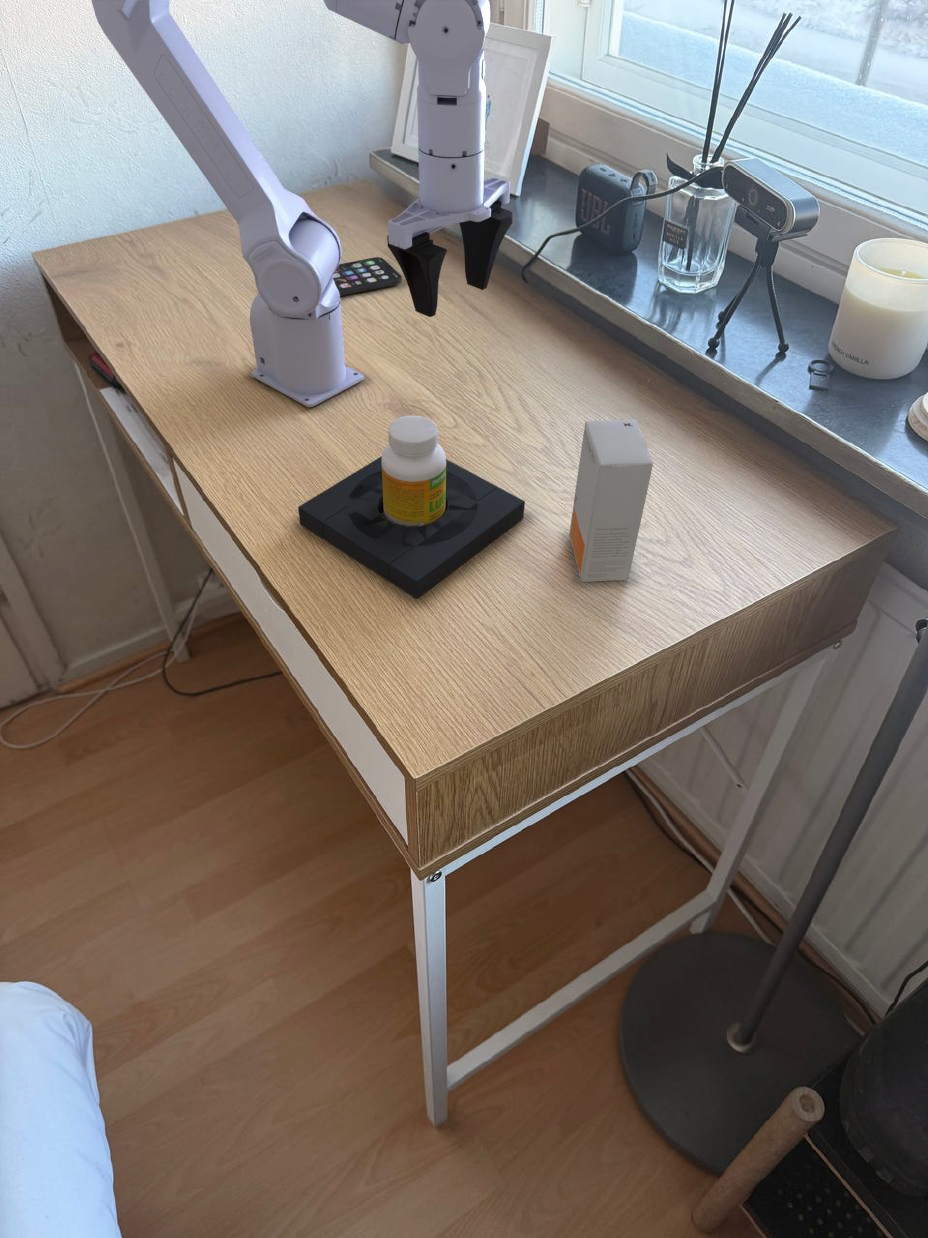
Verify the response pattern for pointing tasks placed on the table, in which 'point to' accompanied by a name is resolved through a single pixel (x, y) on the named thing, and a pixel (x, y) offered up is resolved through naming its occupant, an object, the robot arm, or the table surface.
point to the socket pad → (418, 550)
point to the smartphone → (365, 275)
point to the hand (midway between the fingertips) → (451, 299)
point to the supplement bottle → (413, 473)
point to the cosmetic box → (609, 499)
